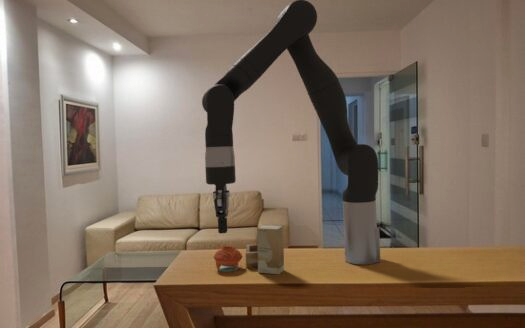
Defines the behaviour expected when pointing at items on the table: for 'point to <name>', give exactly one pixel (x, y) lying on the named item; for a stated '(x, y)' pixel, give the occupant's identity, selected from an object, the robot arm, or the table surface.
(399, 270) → the table surface
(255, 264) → the open wooden box
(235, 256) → the pot
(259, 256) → the skincare box
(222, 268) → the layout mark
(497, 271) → the table surface
